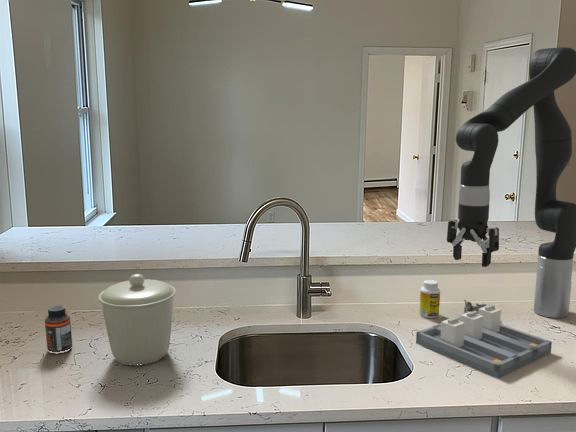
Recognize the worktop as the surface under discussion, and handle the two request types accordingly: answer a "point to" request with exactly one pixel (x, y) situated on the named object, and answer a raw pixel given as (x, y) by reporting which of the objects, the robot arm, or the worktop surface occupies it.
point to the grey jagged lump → (473, 307)
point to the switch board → (489, 349)
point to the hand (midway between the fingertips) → (471, 262)
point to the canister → (138, 319)
